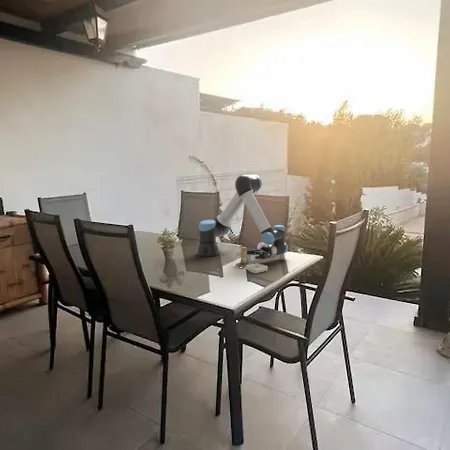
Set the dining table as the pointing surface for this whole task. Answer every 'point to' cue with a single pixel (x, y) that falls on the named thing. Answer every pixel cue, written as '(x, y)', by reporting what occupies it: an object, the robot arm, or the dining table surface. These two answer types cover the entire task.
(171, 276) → the dining table surface
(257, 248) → the mushroom
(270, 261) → the dining table surface
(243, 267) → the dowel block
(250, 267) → the tray
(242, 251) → the dowel
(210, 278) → the dining table surface
